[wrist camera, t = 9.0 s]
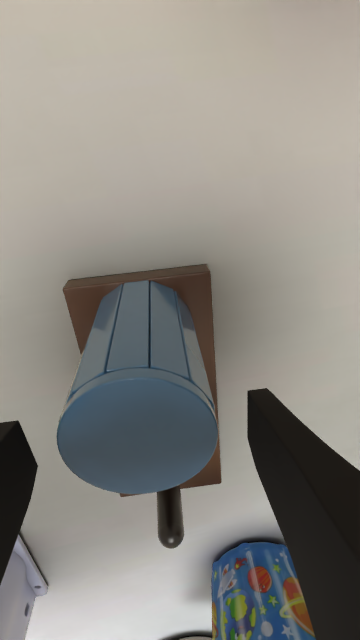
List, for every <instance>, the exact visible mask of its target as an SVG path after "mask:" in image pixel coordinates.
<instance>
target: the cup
mask: <svg viewBox="0 0 360 640" xmlns="http://www.w3.org/2000/svg"><path fill="white" fill-rule="evenodd" d="M217 441H218V426H217V421H216V417H215V406H214V402H213V398H212V394H211V390H210V386H209V382H208V379H207V375H206V371H205V367H204V363H203V359H202V355H201V351H200V347H199V344H198V340H197V336H196V332H195V328H194V324H193V320H192V316H191V312H190V310H189V307H188V306H187V305H186V303H185V302H184V301H183V300H182V298H181V297H180V296H179V294H178V293H177V292H176V291H174V290H173V289H172V288H169V287H166V286H164V285H161V284H159V283H156V282H154V281H150V283H149V280H145V281H137V282H128V283H124V285H123V284H121V285H119V286H118V287H117V288H115V289H114V290H113V291H111V292H110V293H108V294H107V295H106V296H104V297H103V299H102V300H101V301H100V304H99V307H98V309H97V312H96V315H95V317H94V320H93V323H92V326H91V329H90V332H89V335H88V337H87V340H86V343H85V346H84V349H83V352H82V355H81V358H80V361H79V364H78V367H77V370H76V373H75V376H74V378H73V381H72V384H71V387H70V390H69V393H68V396H67V399H66V402H65V405H64V408H63V411H62V414H61V416H60V419H59V425H58V428H57V445H58V449H59V452H60V455H61V457H62V459H63V461H64V462H65V464H66V465H67V466H68V468H69V469H70V470H71V471H72V472H73V473H74V474H76V475H77V476H78V477H79V478H81V479H82V480H84V481H85V482H87V483H89V484H91V485H93V486H95V487H98V488H101V489H103V490H107V491H111V492H116V493H122V494H147V493H154V492H160V491H163V490H167V489H170V488H173V487H175V486H178V485H180V484H182V483H184V482H186V481H187V480H189V479H191V478H192V477H193V476H195V475H196V474H197V473H199V472H200V471H201V470H202V469H203V468H204V467H205V466H206V464H207V463H208V462H209V460H210V459H211V457H212V455H213V453H214V451H215V448H216V445H217Z"/></svg>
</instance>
